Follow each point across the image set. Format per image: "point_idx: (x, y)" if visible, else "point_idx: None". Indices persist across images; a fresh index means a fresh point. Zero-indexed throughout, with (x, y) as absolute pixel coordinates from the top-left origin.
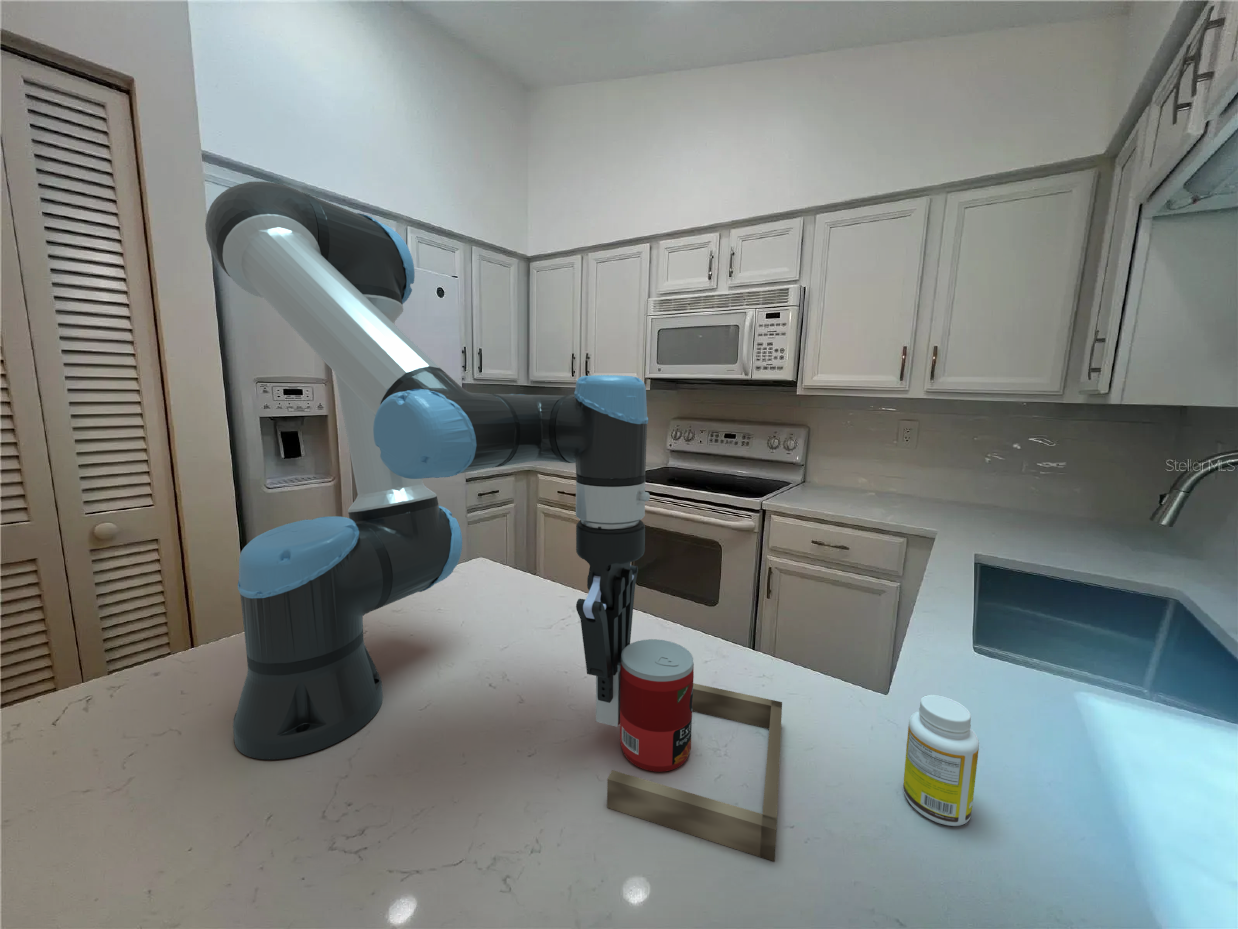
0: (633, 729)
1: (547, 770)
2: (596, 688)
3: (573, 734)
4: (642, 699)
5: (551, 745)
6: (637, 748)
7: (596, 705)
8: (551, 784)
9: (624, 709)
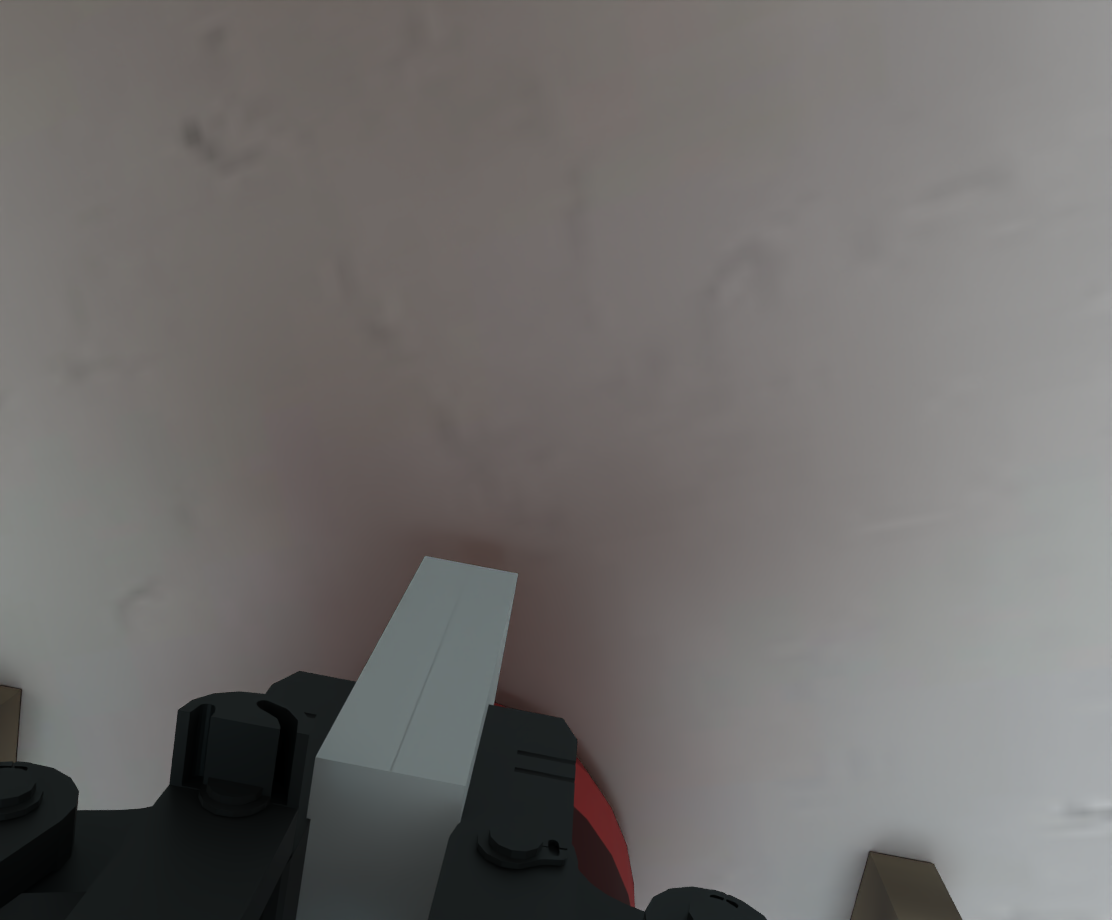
0: None
1: (107, 293)
2: (367, 663)
3: (447, 368)
4: None
5: (314, 250)
6: None
7: (402, 602)
8: (16, 350)
9: None
